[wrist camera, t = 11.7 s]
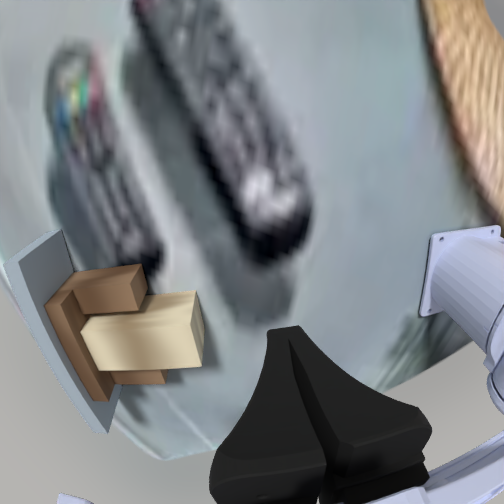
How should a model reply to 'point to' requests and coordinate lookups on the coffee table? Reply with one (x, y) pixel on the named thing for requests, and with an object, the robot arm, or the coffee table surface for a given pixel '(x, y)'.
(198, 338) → the cream wooden bar
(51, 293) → the backstop wall
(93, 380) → the brown u-shaped bracket
